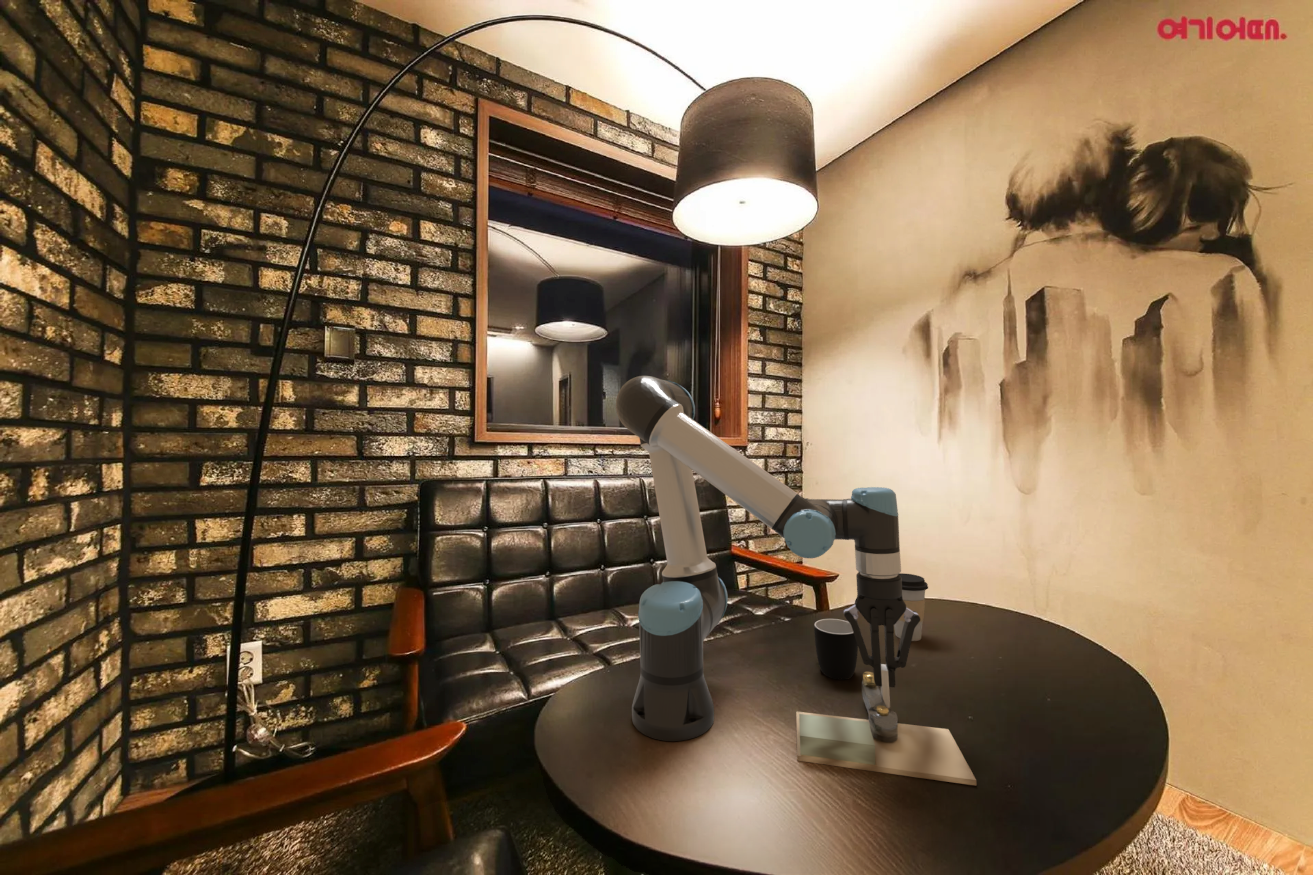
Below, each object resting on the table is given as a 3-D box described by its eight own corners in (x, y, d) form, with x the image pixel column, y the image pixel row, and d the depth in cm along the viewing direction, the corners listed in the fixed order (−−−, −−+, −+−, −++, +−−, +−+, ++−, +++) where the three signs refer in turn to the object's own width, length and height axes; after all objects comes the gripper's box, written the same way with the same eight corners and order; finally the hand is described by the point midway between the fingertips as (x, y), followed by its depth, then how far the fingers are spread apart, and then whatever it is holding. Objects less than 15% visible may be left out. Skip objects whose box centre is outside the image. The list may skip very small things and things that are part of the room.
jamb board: (797, 760, 78) (796, 736, 78) (796, 715, 91) (795, 694, 91) (976, 785, 71) (975, 759, 71) (948, 733, 84) (947, 711, 84)
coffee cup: (879, 632, 128) (878, 574, 128) (908, 627, 131) (907, 570, 131) (908, 646, 119) (906, 584, 119) (938, 640, 122) (937, 580, 122)
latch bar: (900, 743, 80) (900, 715, 80) (871, 740, 81) (870, 712, 81) (881, 696, 94) (880, 672, 94) (856, 694, 95) (856, 670, 95)
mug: (868, 679, 103) (867, 631, 104) (830, 685, 101) (829, 636, 101) (834, 655, 115) (833, 612, 115) (800, 660, 113) (799, 616, 113)
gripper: (912, 568, 91) (920, 696, 91) (840, 566, 95) (846, 689, 95) (921, 579, 84) (929, 718, 84) (842, 577, 88) (849, 710, 88)
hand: (885, 703), depth 89 cm, fingers closed
